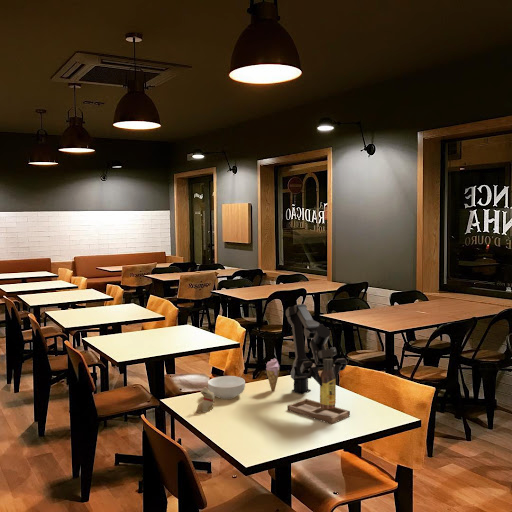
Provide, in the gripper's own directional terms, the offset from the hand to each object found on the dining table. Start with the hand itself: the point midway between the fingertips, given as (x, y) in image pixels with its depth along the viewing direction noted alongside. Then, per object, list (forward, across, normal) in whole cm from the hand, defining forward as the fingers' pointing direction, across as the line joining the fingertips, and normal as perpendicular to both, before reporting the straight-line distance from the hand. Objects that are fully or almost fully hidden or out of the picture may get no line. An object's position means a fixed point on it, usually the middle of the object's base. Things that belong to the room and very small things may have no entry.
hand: (329, 384), depth 225 cm
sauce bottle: (+6, 0, +8) cm, 10 cm away
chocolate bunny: (-7, -46, +26) cm, 54 cm away
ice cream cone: (-18, -12, +38) cm, 44 cm away
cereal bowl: (-17, -34, +37) cm, 53 cm away
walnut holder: (+5, -3, +14) cm, 15 cm away
